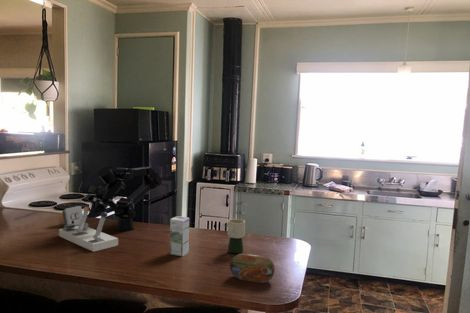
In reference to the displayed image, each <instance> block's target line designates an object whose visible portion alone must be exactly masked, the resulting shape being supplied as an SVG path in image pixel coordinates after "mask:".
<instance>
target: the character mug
mask: <svg viewBox="0 0 470 313" xmlns="http://www.w3.org/2000/svg"><path fill="white" fill-rule="evenodd" d="M227 236H228V237H229V241H228V247H227V248H228V249H227V252H228V253H233V254H242V253H243V252H244V244H243V239H242V238H244V237H245V236H246V221H245V220H244V219H240V218H239V219H238V218H231V219H227Z"/></svg>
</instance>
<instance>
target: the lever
mask: <svg viewBox="0 0 470 313" xmlns="http://www.w3.org/2000/svg"><path fill="white" fill-rule="evenodd" d="M107 217H108V212H106V211H103V212H101V213H100V218H99V220H98V221H99V222H98V225H97V227H96V229H95V230H96V233H95V235H94V236H93V239H96V240H100V237H99V236H100V233H101V232H102V230H103V227H104V224H105V220H106V218H107Z"/></svg>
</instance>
